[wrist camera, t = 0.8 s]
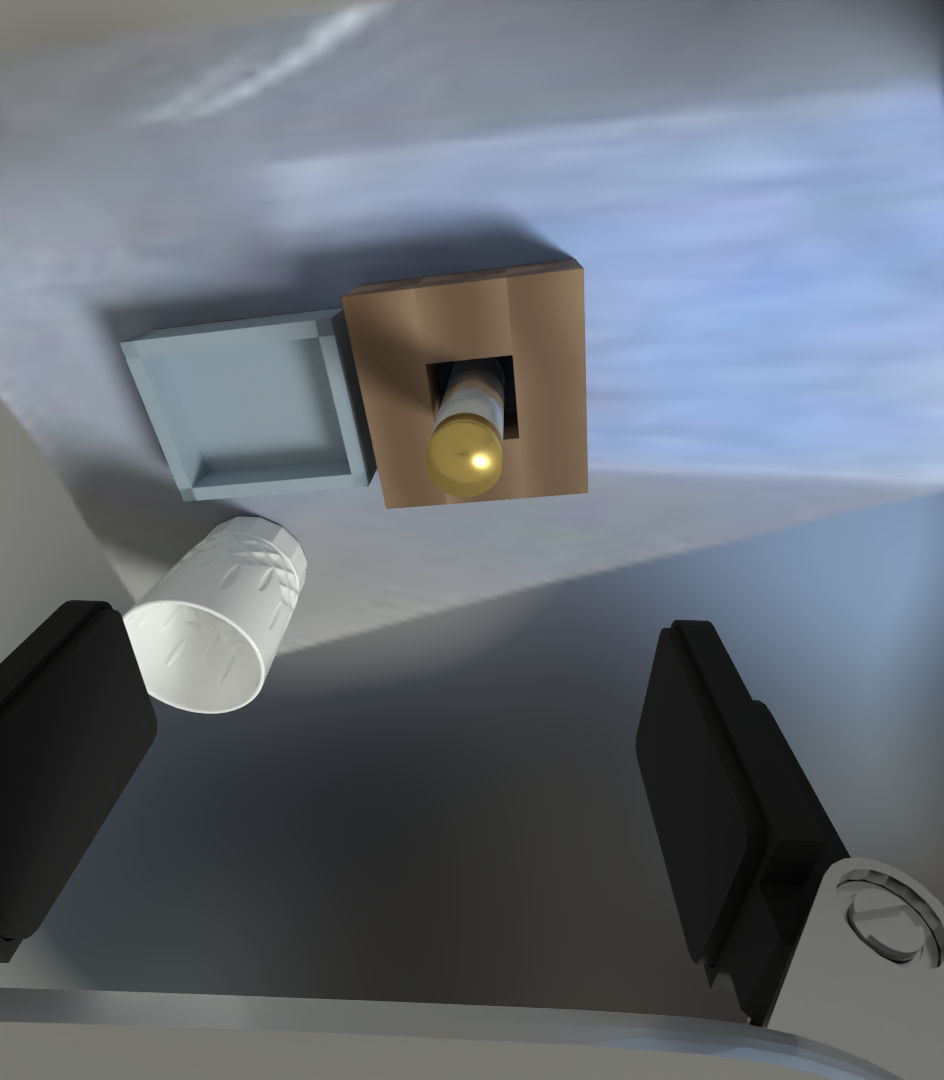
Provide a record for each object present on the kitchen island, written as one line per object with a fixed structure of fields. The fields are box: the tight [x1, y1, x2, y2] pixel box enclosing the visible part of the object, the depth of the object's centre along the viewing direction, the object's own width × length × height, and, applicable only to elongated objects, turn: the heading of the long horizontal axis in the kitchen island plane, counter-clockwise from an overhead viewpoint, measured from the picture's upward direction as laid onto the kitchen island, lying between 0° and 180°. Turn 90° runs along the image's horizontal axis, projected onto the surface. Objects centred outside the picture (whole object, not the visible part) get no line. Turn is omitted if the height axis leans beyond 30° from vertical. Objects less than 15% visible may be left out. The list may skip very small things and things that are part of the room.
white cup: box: [122, 517, 307, 713], centre depth 36 cm, size 8×8×10 cm
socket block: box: [341, 259, 588, 509], centre depth 31 cm, size 11×11×4 cm
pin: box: [425, 357, 505, 497], centre depth 28 cm, size 3×3×12 cm
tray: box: [119, 308, 377, 502], centre depth 33 cm, size 11×9×3 cm
